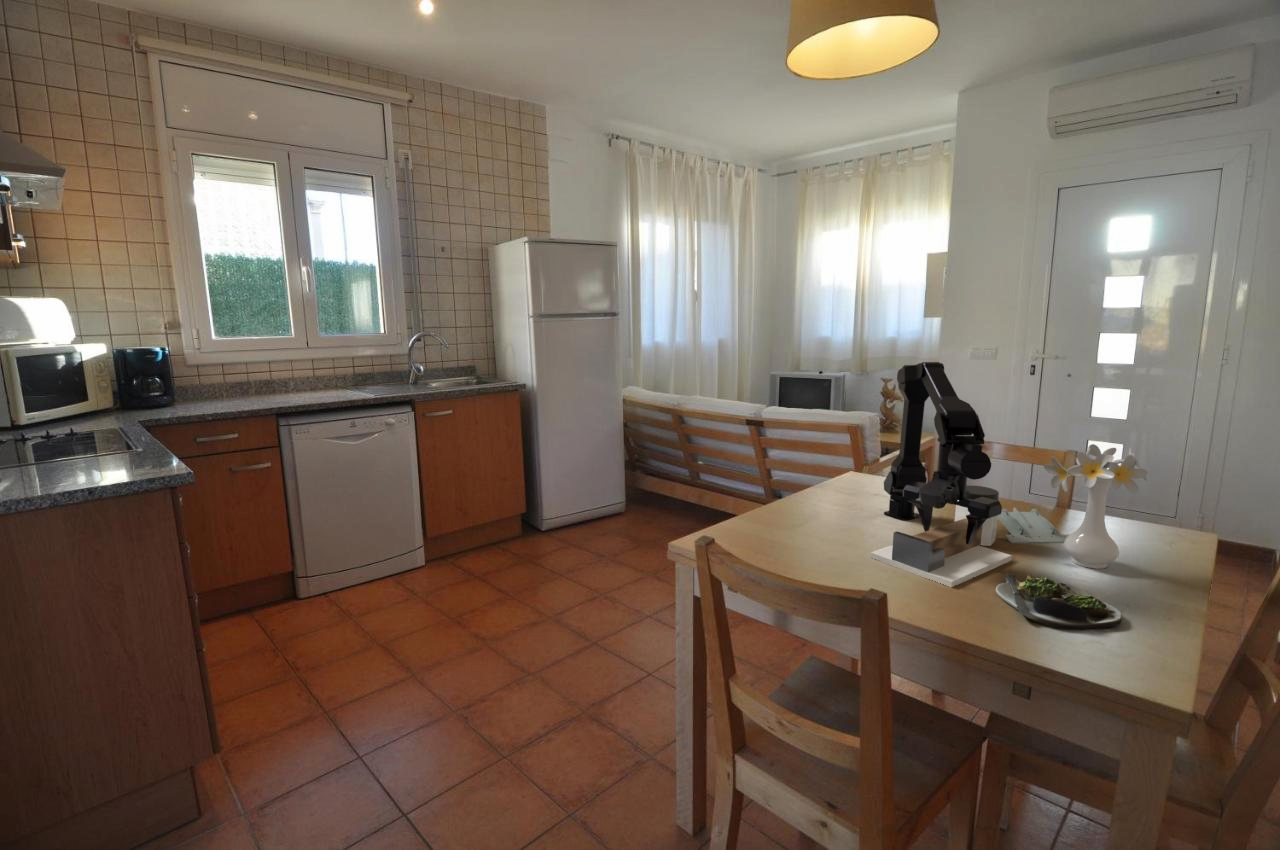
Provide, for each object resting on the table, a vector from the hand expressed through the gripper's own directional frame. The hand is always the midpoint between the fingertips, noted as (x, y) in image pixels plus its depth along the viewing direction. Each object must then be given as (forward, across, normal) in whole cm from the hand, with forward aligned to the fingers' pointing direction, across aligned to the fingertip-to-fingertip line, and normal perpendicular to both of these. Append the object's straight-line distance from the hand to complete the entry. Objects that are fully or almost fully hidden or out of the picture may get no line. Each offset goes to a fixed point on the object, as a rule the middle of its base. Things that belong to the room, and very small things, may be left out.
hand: (946, 537), depth 130 cm
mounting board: (+4, 0, -2) cm, 5 cm away
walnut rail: (+3, 0, -1) cm, 3 cm away
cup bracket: (+3, 0, -10) cm, 11 cm away
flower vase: (+5, +19, +20) cm, 28 cm away
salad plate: (+5, +24, -6) cm, 25 cm away
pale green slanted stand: (+5, +3, +30) cm, 31 cm away
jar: (+5, -2, +16) cm, 16 cm away
